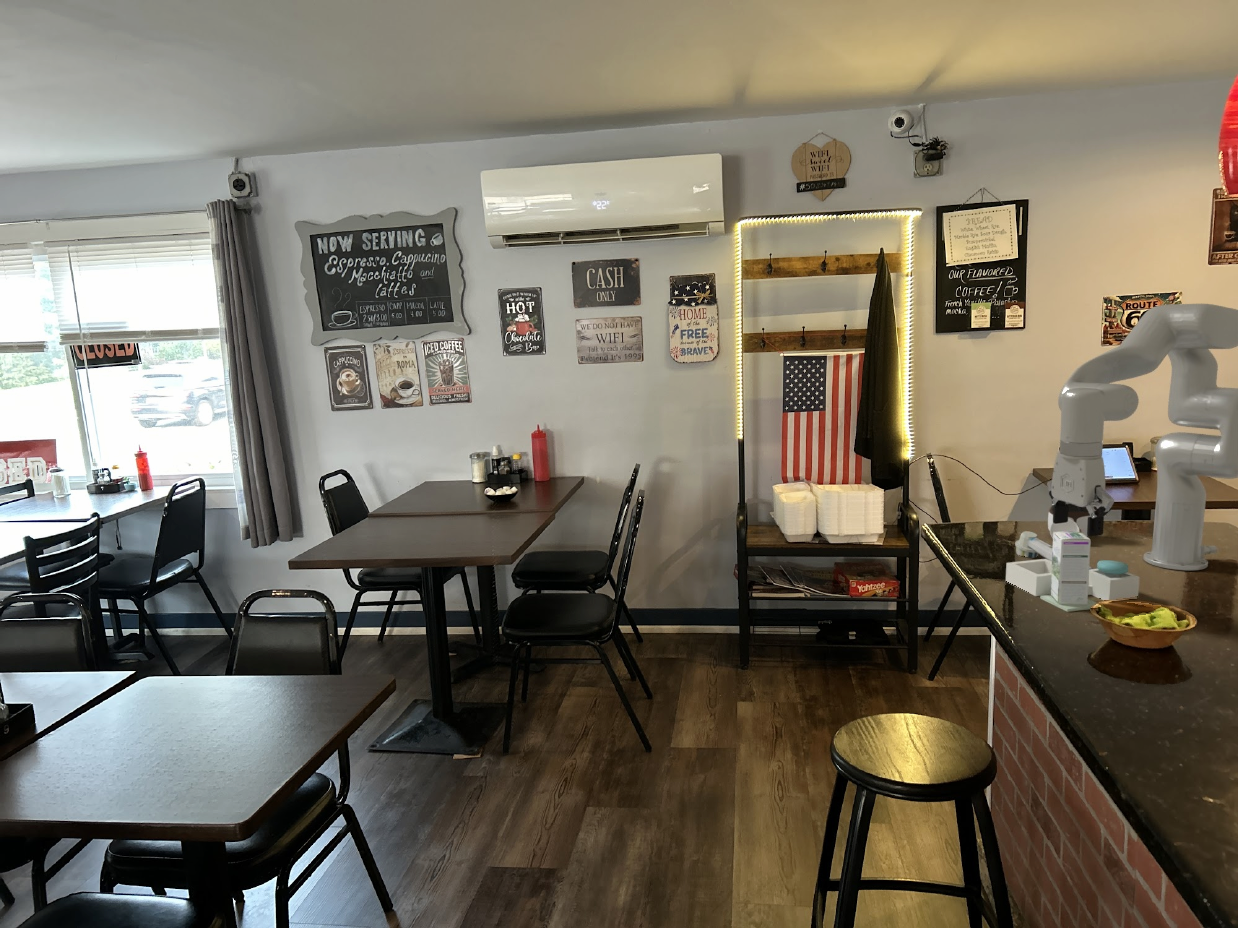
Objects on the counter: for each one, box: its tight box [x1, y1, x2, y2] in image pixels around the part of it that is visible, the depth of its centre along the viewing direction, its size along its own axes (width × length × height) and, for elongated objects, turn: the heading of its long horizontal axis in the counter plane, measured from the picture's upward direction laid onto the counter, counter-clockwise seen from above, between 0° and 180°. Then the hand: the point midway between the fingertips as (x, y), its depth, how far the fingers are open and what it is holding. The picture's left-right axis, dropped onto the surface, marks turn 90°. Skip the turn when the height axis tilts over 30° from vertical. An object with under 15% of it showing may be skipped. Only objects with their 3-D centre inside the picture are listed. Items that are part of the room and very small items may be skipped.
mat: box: [1039, 595, 1098, 613], centre depth 164 cm, size 8×8×1 cm
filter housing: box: [1005, 558, 1141, 601], centre depth 171 cm, size 18×18×5 cm
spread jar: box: [1047, 503, 1091, 539], centre depth 207 cm, size 12×11×12 cm
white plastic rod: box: [1014, 530, 1094, 570], centre depth 187 cm, size 5×7×25 cm
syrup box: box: [1050, 531, 1092, 605], centre depth 163 cm, size 6×6×14 cm
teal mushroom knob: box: [1096, 559, 1129, 578], centre depth 167 cm, size 6×6×6 cm
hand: (1077, 528), depth 162 cm, fingers open, 9 cm apart
